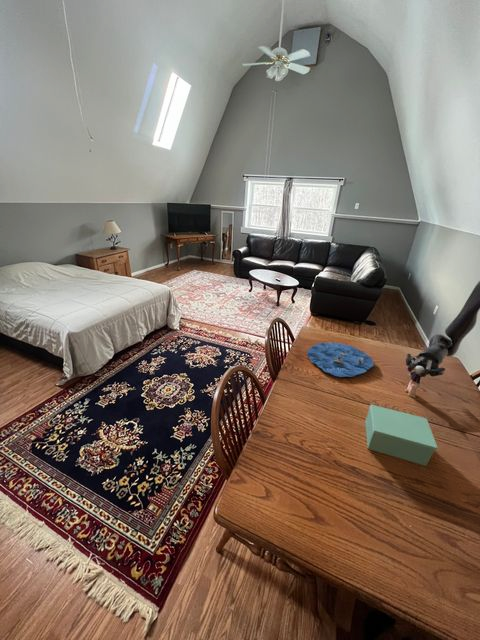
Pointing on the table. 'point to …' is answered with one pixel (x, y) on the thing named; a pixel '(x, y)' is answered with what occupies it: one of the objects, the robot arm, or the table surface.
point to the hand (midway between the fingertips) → (415, 372)
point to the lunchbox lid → (402, 426)
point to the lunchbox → (396, 446)
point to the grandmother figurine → (414, 381)
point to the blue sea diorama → (339, 359)
